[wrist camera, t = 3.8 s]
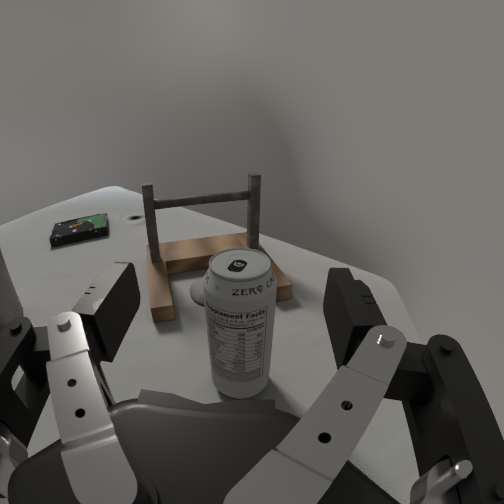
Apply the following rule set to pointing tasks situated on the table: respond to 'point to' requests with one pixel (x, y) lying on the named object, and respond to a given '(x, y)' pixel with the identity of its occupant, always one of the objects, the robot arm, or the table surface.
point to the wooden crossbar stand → (198, 247)
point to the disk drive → (79, 229)
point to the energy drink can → (240, 320)
